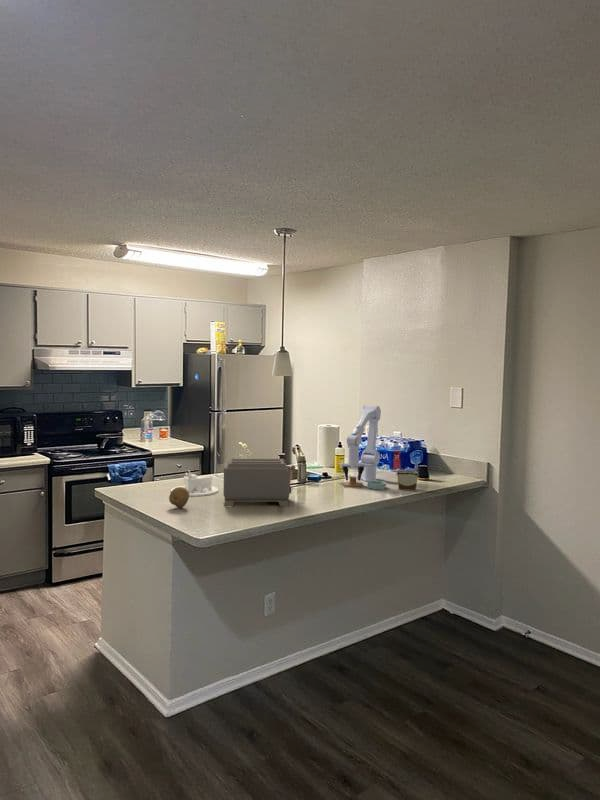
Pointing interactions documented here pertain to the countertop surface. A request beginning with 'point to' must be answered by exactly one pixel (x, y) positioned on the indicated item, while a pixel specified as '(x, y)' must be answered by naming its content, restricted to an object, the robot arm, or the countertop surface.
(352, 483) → the lid
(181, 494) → the natural sponge
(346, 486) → the mat
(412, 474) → the food container
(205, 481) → the dish
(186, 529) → the countertop surface
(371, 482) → the bowl
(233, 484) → the toaster
